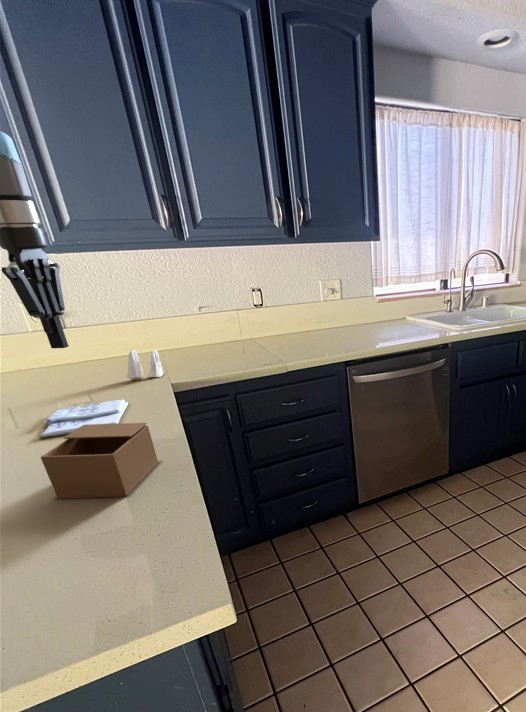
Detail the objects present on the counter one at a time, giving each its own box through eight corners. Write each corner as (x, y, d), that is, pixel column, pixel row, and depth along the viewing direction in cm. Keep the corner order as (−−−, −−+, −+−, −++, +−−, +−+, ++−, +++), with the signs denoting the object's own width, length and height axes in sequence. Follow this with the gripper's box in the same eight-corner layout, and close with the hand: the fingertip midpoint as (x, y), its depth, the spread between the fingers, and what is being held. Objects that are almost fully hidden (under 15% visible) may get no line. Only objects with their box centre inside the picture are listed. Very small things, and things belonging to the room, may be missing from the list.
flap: (63, 438, 88) (63, 437, 88) (84, 425, 95) (83, 424, 95) (131, 436, 89) (130, 435, 89) (147, 423, 95) (146, 422, 95)
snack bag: (128, 404, 135) (126, 397, 134) (118, 428, 118) (115, 421, 117) (58, 413, 129) (55, 407, 128) (35, 440, 112) (32, 433, 111)
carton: (57, 498, 86) (40, 457, 82) (98, 464, 99) (84, 427, 95) (126, 496, 86) (113, 455, 82) (158, 462, 99) (147, 425, 95)
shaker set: (129, 382, 155) (120, 352, 150) (128, 379, 158) (119, 350, 153) (164, 376, 161) (157, 347, 156) (163, 374, 164) (156, 345, 159)
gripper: (23, 227, 88) (62, 341, 98) (-31, 226, 76) (20, 355, 86) (60, 226, 88) (95, 340, 98) (11, 225, 76) (57, 354, 86)
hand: (60, 347), depth 92 cm, fingers closed
